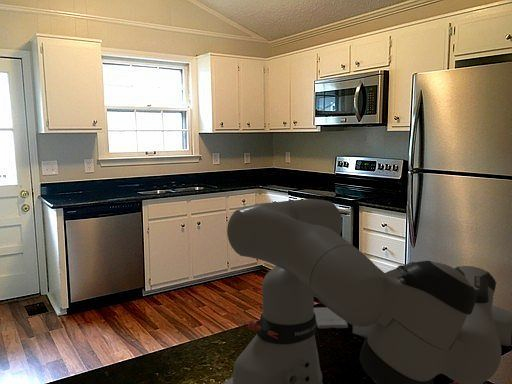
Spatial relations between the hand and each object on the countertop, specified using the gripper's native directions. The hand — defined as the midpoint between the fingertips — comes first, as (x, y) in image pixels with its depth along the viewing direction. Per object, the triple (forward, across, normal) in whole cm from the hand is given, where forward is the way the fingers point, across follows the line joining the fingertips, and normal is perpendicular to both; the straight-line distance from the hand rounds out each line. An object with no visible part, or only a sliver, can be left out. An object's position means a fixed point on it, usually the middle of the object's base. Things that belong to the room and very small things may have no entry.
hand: (398, 298), depth 122 cm
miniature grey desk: (0, 0, -6) cm, 7 cm away
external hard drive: (+15, -12, -7) cm, 21 cm away
